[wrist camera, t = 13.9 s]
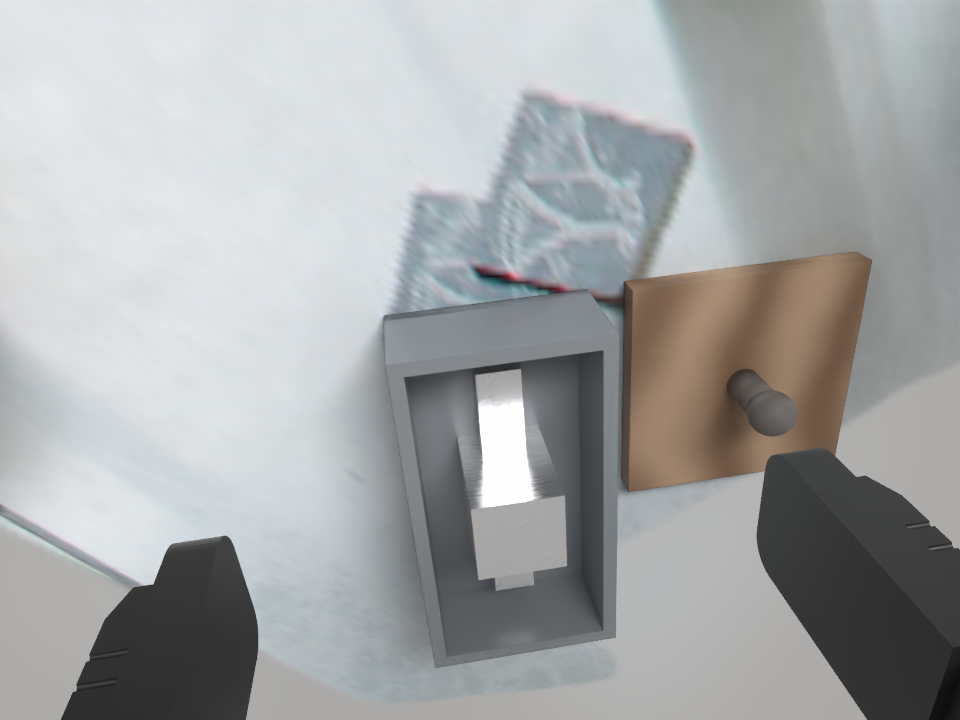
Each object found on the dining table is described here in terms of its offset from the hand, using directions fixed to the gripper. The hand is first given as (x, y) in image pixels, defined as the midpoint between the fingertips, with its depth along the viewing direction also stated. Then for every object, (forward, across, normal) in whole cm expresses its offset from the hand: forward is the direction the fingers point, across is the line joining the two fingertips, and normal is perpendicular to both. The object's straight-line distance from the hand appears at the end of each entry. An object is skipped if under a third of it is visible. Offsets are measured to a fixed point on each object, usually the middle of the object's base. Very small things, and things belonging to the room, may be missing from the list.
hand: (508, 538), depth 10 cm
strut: (+27, -3, +19) cm, 33 cm away
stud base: (+28, -18, +15) cm, 37 cm away
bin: (+28, -3, +19) cm, 34 cm away
